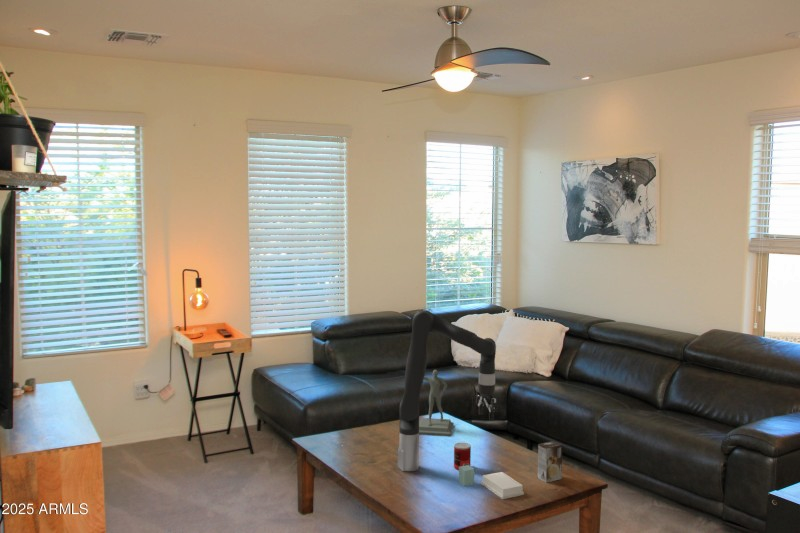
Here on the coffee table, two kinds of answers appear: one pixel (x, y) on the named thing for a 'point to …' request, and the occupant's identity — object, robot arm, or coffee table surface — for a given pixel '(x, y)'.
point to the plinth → (502, 485)
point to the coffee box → (549, 461)
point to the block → (466, 475)
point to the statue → (438, 425)
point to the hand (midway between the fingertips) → (486, 417)
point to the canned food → (462, 455)
